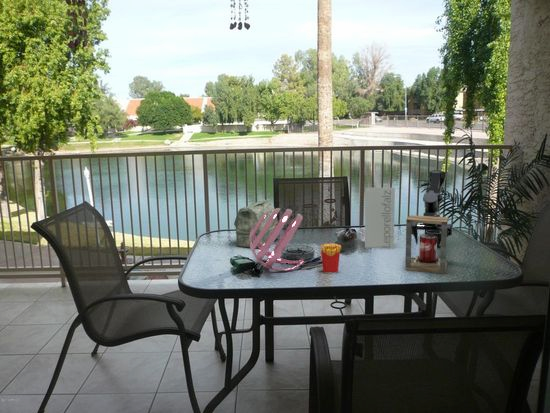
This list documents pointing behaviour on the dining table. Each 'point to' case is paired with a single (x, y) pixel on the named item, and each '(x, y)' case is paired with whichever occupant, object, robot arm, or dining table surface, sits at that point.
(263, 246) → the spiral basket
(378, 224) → the white box
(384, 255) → the dining table surface
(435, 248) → the soda can
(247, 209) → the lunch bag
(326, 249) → the french fries
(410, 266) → the wooden open frame
